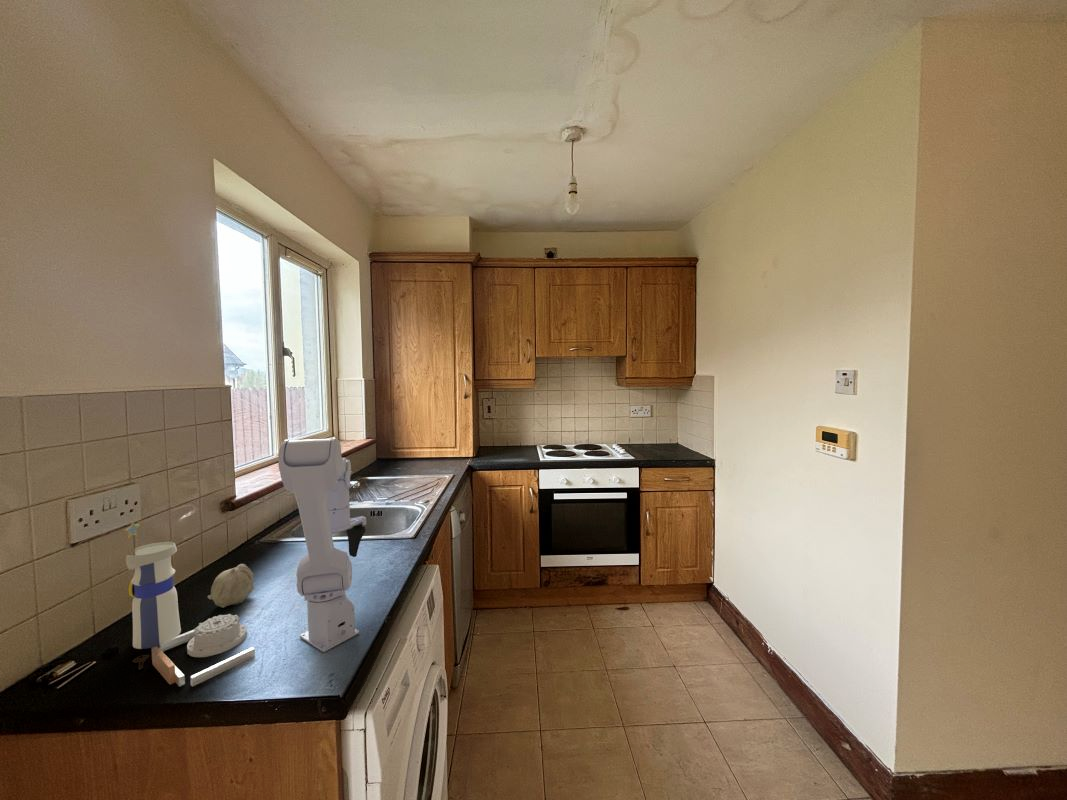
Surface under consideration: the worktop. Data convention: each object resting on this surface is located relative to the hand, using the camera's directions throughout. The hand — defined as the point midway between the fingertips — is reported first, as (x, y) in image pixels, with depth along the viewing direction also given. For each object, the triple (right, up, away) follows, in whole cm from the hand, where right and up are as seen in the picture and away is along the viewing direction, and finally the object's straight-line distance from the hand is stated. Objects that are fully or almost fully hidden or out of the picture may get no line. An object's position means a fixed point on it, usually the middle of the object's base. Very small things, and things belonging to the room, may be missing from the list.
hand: (338, 561), depth 106 cm
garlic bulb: (-25, -10, -1) cm, 27 cm away
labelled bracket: (-18, -11, -21) cm, 30 cm away
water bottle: (-32, -11, -15) cm, 37 cm away
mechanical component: (-18, -11, -17) cm, 27 cm away
